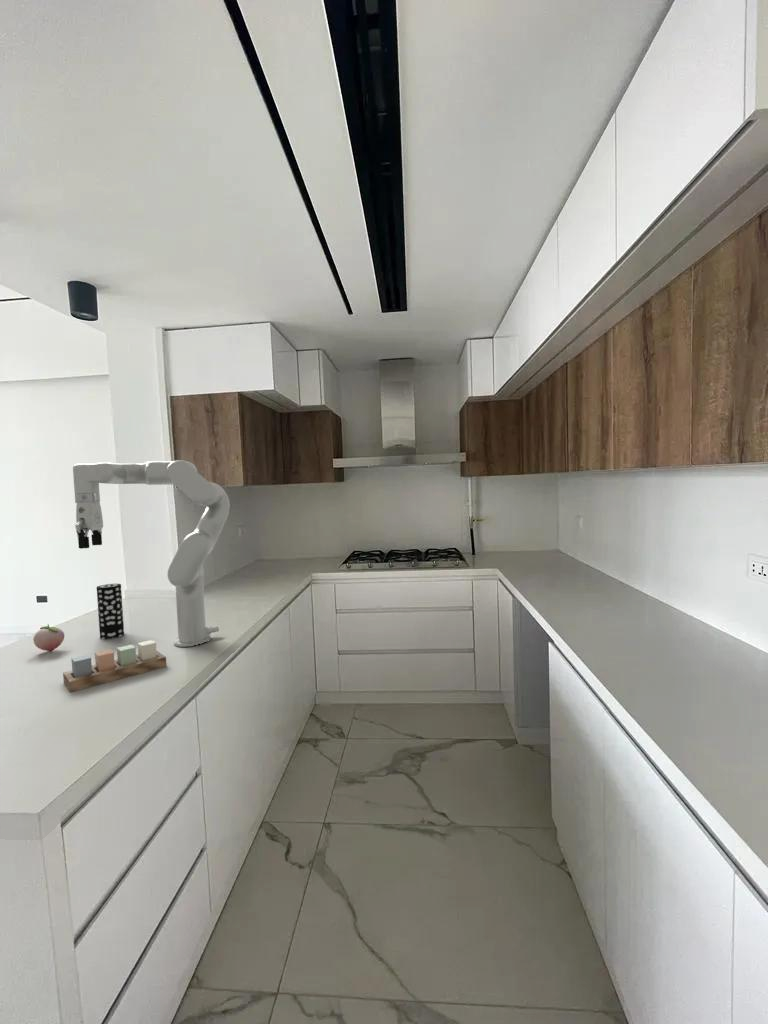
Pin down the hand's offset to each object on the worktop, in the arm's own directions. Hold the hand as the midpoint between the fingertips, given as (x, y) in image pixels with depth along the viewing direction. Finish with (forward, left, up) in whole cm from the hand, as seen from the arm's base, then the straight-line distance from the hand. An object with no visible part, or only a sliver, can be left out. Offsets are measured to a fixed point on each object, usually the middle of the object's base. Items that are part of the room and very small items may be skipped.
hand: (90, 546), depth 169 cm
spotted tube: (-8, -15, -38) cm, 41 cm away
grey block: (+11, +32, -35) cm, 49 cm away
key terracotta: (+4, +32, -35) cm, 48 cm away
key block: (+2, +32, -37) cm, 49 cm away
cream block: (-8, +32, -35) cm, 48 cm away
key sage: (-1, +32, -35) cm, 48 cm away
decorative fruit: (+13, -11, -38) cm, 41 cm away
